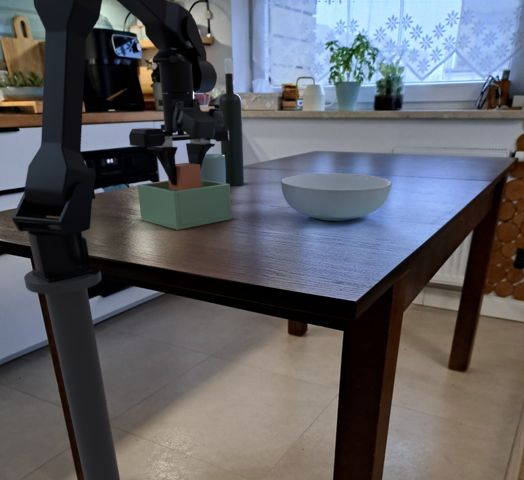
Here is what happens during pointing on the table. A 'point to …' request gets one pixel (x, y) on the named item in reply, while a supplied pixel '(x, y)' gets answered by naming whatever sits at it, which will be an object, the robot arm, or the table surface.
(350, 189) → the serving bowl
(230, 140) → the wine bottle
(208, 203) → the green storage bin
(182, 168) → the terracotta block
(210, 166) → the cup
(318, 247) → the table surface
